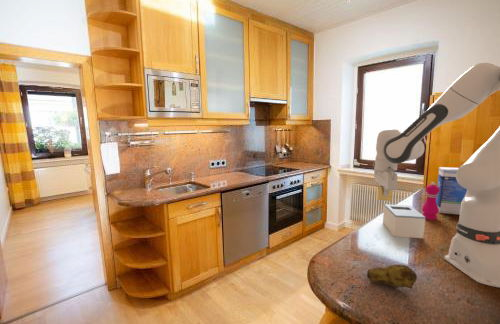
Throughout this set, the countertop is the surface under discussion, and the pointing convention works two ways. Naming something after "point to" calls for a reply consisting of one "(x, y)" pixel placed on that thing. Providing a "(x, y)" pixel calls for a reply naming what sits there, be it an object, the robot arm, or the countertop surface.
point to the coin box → (403, 221)
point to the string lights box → (449, 191)
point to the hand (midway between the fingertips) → (384, 195)
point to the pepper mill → (431, 202)
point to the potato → (393, 276)
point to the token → (380, 194)
